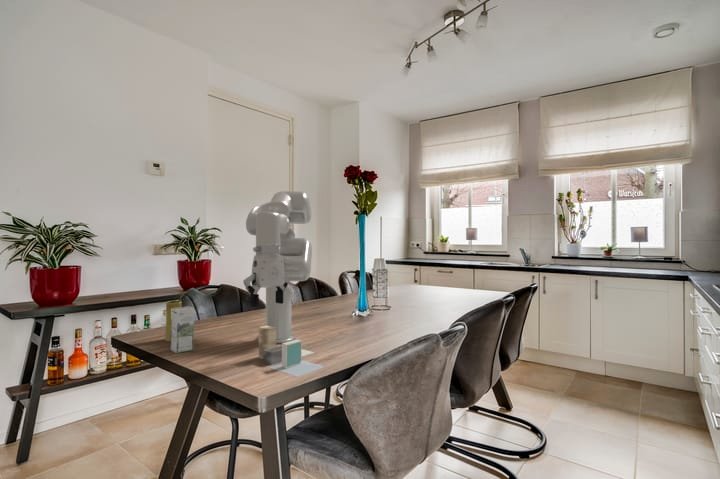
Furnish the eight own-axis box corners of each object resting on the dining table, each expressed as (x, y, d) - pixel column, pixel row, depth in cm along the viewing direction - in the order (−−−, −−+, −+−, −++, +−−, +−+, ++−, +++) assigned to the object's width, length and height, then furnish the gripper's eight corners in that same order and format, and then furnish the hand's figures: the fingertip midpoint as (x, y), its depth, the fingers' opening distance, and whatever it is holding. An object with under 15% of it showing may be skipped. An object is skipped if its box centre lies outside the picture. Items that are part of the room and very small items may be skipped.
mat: (269, 368, 113) (269, 367, 113) (297, 359, 122) (297, 358, 122) (297, 378, 106) (297, 376, 106) (325, 367, 114) (325, 366, 114)
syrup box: (187, 347, 135) (187, 305, 135) (194, 350, 131) (194, 307, 131) (170, 350, 131) (170, 307, 131) (176, 354, 127) (176, 310, 127)
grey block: (253, 360, 121) (253, 328, 121) (271, 354, 127) (271, 324, 127) (271, 366, 116) (271, 332, 116) (289, 360, 121) (289, 328, 121)
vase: (160, 340, 143) (161, 302, 143) (174, 336, 149) (174, 299, 148) (173, 342, 141) (173, 303, 141) (186, 338, 146) (186, 301, 146)
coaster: (286, 354, 127) (286, 352, 127) (299, 350, 132) (299, 348, 132) (300, 358, 123) (300, 356, 123) (314, 354, 128) (314, 352, 128)
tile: (281, 367, 113) (281, 343, 113) (296, 362, 118) (297, 339, 118) (286, 368, 112) (286, 344, 112) (301, 363, 117) (301, 340, 117)
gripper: (252, 251, 113) (251, 309, 113) (296, 250, 127) (295, 303, 126) (237, 250, 118) (236, 307, 117) (281, 250, 131) (280, 300, 131)
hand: (267, 304), depth 122 cm, fingers open, 9 cm apart
